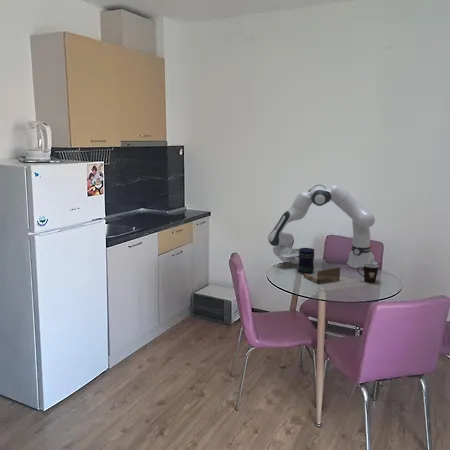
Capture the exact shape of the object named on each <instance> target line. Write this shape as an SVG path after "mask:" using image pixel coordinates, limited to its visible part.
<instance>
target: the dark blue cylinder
mask: <svg viewBox="0 0 450 450" xmlns="http://www.w3.org/2000/svg"><path fill="white" fill-rule="evenodd" d="M298 249H299V261H298V265H297V268H298V271H297V272H298V274H299V273H300V274H303V275H304V273H306V274H308V275H312V274H313V273H314V269H315V264H314V259H315V249H314V248H312V247H301V248H298Z"/></svg>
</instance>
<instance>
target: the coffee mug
mask: <svg viewBox="0 0 450 450" xmlns="http://www.w3.org/2000/svg"><path fill="white" fill-rule="evenodd" d="M379 267H380V266H379V264H377V265H376V264H364V268H363V267H359V268H362V269H361V270H363V274H362V273H361V272H360V271H359V270H360V269H359V268H356V271H357V272H358V274H359V275H360V276H362V277H363V278H364V280H363V281H364V282H365V283H368V284H374V283H376V281H377V276H378V273H379V272H378V271H379Z"/></svg>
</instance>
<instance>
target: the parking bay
mask: <svg viewBox="0 0 450 450" xmlns="http://www.w3.org/2000/svg"><path fill="white" fill-rule="evenodd" d="M340 275H341V267H339V266H338V267H330V268H325V269H319V270H317V275H316V277H315V276H312V275H311V274H306V273H304V274H303V279H304V278H305V279H306V280H308V281H311V282H313V283H315V284H317V285H321V284H325V282H327V283H331V281H332V282H336V281H335V280H338V281H340V278H341V276H340ZM320 283H321V284H320Z"/></svg>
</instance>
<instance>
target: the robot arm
mask: <svg viewBox="0 0 450 450" xmlns="http://www.w3.org/2000/svg"><path fill="white" fill-rule="evenodd" d="M330 202H333V204H335V206H337V207H338V208H339V209H340V210H341V211H342V212H343V213H345V214H346V215H347V216H348V217H349V218H350V219H352V224H351V225H352V245H351V251H350V252H349V254H348V261H346V264H347V265H348V266H349V267H350V268H354V269H357V268H359V267H363V268H364V264H376V265H379V264H378V262H377V261H376V260H375V255H374V254H373V253H372V251H371V249H373V246H372V245H371V232H370V228H371V227H373V226H374V224H375V221H376V218H375V215H374V214H373V213H372V212H371V211H370V210H369V209H368V208H366V207H365V206H364V205H363V204H362V203H361V202H359V201H358V200H357V199H356V198H354V197H353V196H352V195H351V194H350V193H349V192H348V191H347V190H346V189H345V188H343V187H342V186H340V185H338V184H332V185H330V186H329V187H327V188H326V186H324V185H323V184H317V185H314V186H313V187H311V188H310V189H308V191H304V190H301V191H300V192H299V193H298V194H297V195H296V197H295V199H294V201H293V203H292V205H291V206H290V208H289V209H288V210H286V211H285V212H284V213H283V214H282V215H281V217H280V218H279V220H278V222H277V223H276V224H275V226H274V228H273V229H272V230H271V232H270V233H269V234H268V237H267V240H268V243H269V244H270V245H271V246H273V247H272V252H273V254H274V255H275V256H276V257H277V258H278V259H280V261H282V262H283V263H288V262H296V261H297V262H299V249H300V248H293V246H294V243H295V239H294V236H293V234H292V233H289V232H283V231H284V230H285V228H286V226H287V225H288V224H289V223H291V222H294V221H300V220H302V219H304V218H305V217H306V215H307V214H308V211H309V208H310V206H311V205H312V204H313V205H316V206H317V207H321V206H324V205H326V204H328V203H330ZM360 269H361V270H363V269H362V268H359V269H358V270H360Z"/></svg>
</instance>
